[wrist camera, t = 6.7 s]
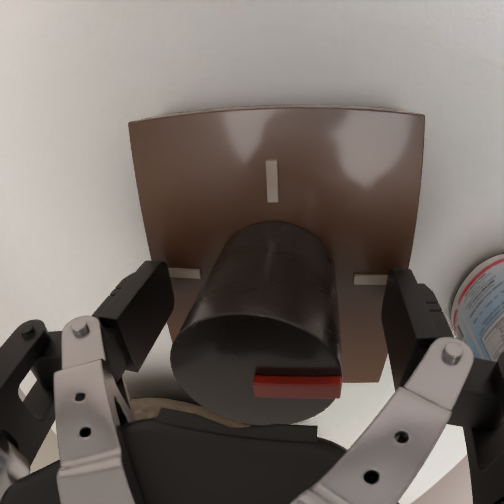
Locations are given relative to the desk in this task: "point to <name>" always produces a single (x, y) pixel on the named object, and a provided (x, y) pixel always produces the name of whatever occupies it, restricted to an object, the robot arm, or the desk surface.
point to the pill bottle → (481, 310)
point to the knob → (264, 330)
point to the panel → (286, 199)
